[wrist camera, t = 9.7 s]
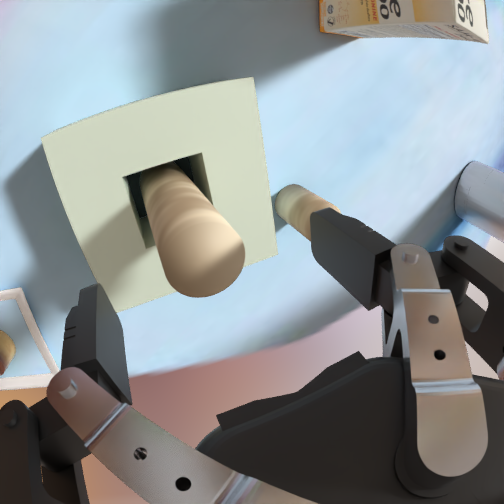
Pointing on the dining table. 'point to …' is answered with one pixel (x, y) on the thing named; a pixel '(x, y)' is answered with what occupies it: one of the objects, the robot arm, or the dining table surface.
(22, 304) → the dessert
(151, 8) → the dining table surface
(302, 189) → the short dowel
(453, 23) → the supplement box
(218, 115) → the hole block
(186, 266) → the long dowel
